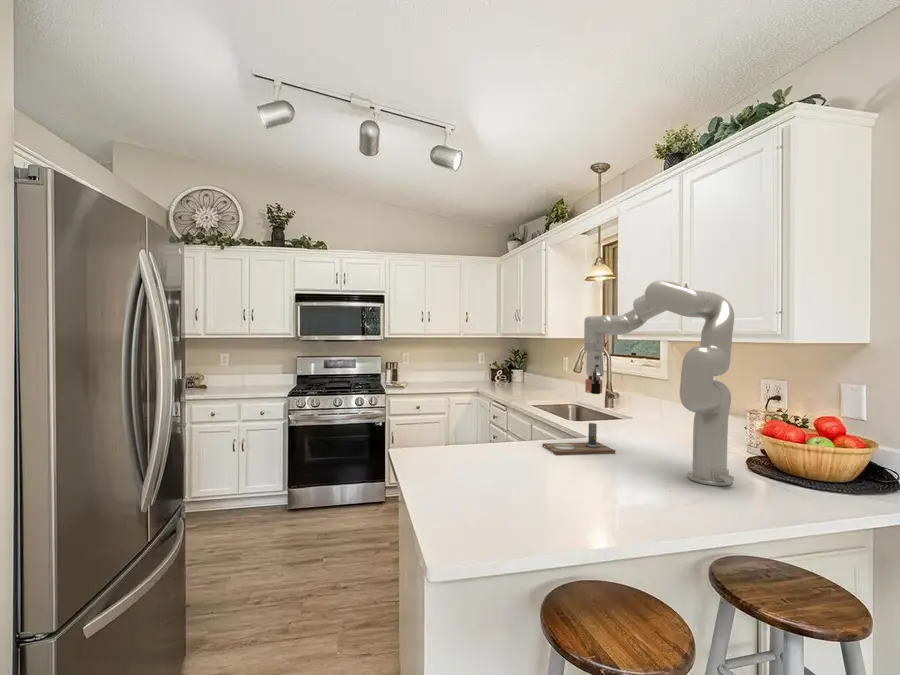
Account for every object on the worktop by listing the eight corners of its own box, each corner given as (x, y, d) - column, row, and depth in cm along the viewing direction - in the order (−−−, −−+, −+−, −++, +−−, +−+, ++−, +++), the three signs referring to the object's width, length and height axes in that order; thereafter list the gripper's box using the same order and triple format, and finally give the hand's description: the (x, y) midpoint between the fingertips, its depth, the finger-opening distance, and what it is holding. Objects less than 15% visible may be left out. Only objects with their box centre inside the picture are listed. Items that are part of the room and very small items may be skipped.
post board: (615, 453, 179) (615, 427, 179) (556, 455, 174) (556, 428, 174) (597, 445, 192) (598, 420, 192) (542, 446, 188) (543, 421, 188)
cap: (595, 393, 179) (595, 380, 179) (581, 392, 184) (581, 379, 184) (606, 392, 184) (606, 379, 184) (592, 391, 189) (592, 378, 189)
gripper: (609, 347, 175) (608, 395, 175) (598, 347, 193) (598, 390, 192) (588, 347, 176) (588, 395, 176) (580, 347, 193) (579, 390, 193)
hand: (593, 392), depth 184 cm, fingers closed on cap, 6 cm apart
